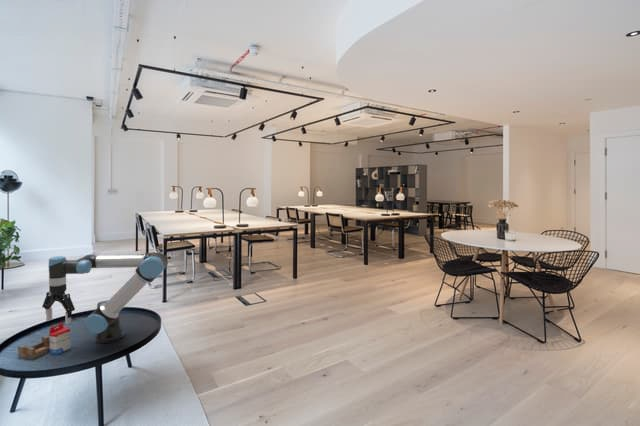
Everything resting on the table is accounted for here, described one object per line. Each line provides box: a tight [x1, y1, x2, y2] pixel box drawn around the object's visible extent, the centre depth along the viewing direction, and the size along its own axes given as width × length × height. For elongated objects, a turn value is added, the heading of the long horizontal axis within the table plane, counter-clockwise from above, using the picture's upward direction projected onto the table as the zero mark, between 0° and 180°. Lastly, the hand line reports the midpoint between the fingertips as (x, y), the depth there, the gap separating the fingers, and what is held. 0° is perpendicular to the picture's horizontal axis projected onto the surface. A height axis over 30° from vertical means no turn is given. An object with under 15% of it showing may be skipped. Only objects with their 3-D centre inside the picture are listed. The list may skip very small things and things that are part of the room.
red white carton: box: [48, 322, 72, 356], centre depth 189 cm, size 8×5×15 cm, turn 168°
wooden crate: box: [17, 335, 50, 361], centre depth 187 cm, size 10×13×6 cm
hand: (58, 321), depth 188 cm, fingers open, 13 cm apart
